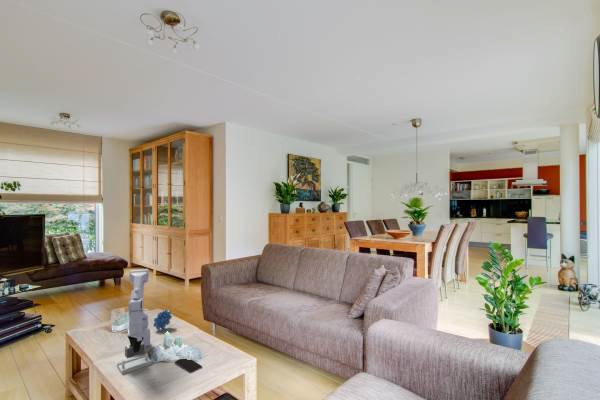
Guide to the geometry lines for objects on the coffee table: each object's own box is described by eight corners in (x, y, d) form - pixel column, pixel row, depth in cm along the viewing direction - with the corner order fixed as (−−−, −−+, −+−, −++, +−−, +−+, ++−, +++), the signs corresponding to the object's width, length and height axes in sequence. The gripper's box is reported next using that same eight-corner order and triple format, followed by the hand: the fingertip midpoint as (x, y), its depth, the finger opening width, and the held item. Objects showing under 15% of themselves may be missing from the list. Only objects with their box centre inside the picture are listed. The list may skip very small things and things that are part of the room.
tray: (146, 357, 167) (146, 349, 167) (152, 363, 161) (152, 356, 161) (117, 366, 158) (117, 358, 158) (122, 374, 151) (122, 365, 151)
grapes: (168, 324, 212) (169, 306, 212) (173, 327, 207) (173, 309, 207) (150, 329, 204) (151, 310, 204) (154, 332, 199) (155, 313, 199)
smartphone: (190, 372, 153) (173, 361, 162) (190, 374, 153) (173, 363, 162) (203, 366, 158) (186, 356, 167) (203, 368, 158) (186, 358, 167)
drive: (142, 350, 163) (142, 341, 163) (144, 353, 161) (144, 343, 161) (125, 355, 158) (125, 345, 158) (127, 358, 155) (127, 348, 155)
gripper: (122, 321, 162) (122, 347, 162) (131, 330, 151) (130, 358, 151) (137, 318, 167) (137, 343, 167) (146, 326, 156) (146, 353, 156)
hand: (135, 350), depth 159 cm, fingers closed on drive, 4 cm apart
